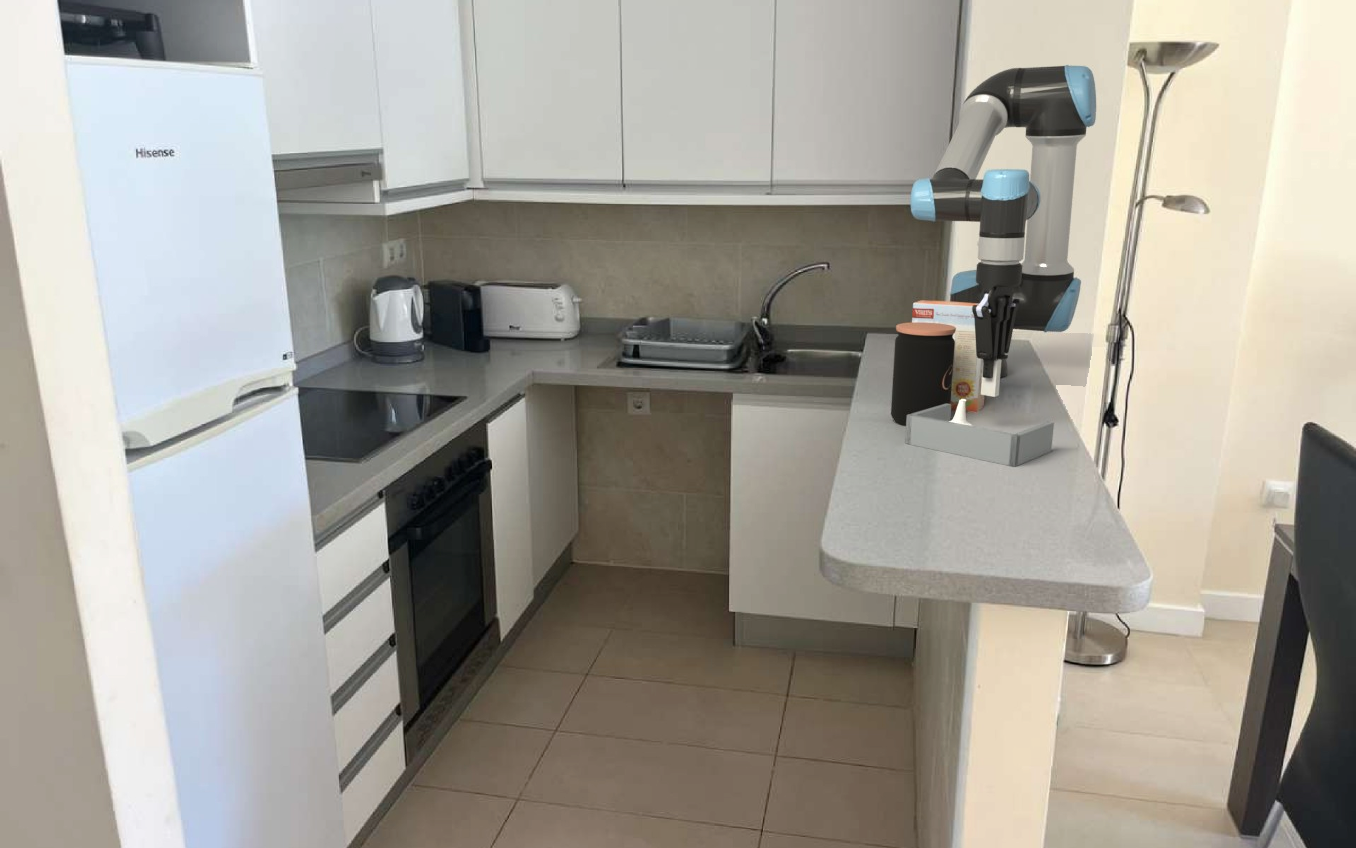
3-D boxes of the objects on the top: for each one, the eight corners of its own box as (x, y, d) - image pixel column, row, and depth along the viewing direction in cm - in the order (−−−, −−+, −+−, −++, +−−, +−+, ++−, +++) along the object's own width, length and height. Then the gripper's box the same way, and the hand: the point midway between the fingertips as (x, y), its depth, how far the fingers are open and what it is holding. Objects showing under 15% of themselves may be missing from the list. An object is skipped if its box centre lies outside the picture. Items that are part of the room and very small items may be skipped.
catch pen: (944, 430, 181) (946, 403, 179) (1051, 451, 167) (1054, 422, 166) (905, 443, 172) (906, 415, 170) (1014, 466, 158) (1017, 436, 157)
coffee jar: (950, 430, 181) (958, 331, 176) (890, 427, 183) (896, 329, 178) (947, 417, 191) (954, 323, 186) (890, 414, 193) (895, 321, 188)
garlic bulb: (959, 438, 176) (962, 393, 174) (984, 446, 170) (988, 400, 168) (930, 442, 173) (934, 396, 171) (955, 450, 168) (959, 404, 166)
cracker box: (984, 408, 198) (992, 303, 193) (976, 414, 193) (985, 306, 188) (915, 400, 205) (921, 298, 200) (905, 406, 200) (912, 301, 195)
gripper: (997, 257, 179) (988, 385, 185) (960, 263, 170) (951, 397, 176) (1037, 260, 174) (1026, 391, 180) (1001, 266, 165) (991, 405, 171)
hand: (989, 394), depth 178 cm, fingers closed
